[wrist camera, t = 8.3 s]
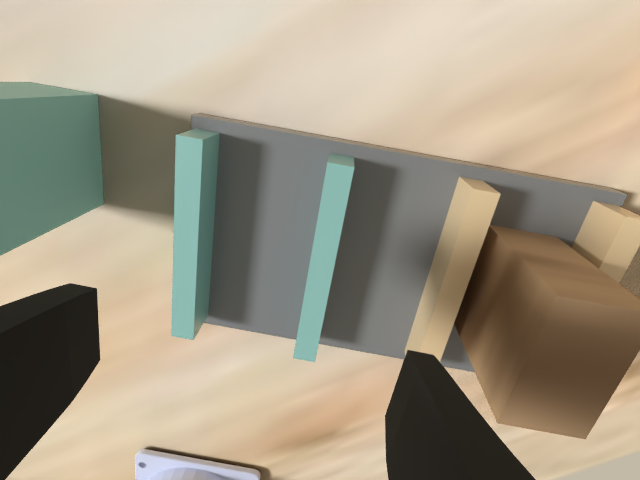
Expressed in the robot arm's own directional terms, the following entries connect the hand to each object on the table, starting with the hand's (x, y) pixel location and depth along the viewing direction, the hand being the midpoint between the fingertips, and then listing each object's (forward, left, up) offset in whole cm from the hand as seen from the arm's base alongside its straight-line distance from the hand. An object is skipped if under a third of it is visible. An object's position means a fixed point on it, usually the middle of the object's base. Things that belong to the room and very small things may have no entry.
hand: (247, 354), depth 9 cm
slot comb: (-1, -4, -10) cm, 11 cm away
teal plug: (+1, +11, -10) cm, 15 cm away
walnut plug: (-1, -10, -9) cm, 13 cm away
